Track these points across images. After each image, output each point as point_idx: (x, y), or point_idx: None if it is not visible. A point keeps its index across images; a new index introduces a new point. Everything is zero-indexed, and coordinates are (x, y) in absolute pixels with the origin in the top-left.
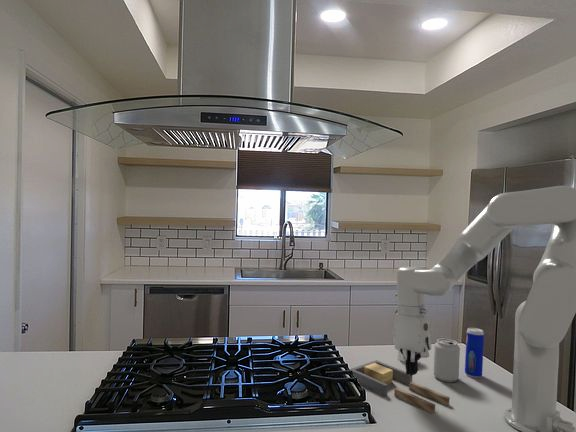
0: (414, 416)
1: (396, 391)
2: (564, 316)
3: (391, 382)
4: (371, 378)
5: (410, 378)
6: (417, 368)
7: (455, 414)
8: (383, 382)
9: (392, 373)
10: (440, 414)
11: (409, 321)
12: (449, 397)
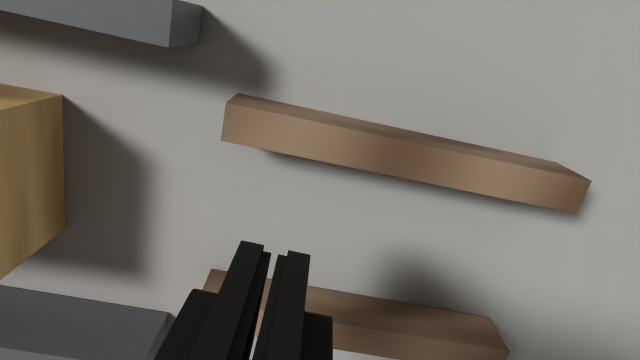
0: None
1: None
2: None
3: (60, 108)
4: None
5: (180, 36)
6: (330, 342)
7: (603, 264)
8: (46, 228)
9: (3, 112)
10: (521, 319)
11: None
12: (589, 180)
